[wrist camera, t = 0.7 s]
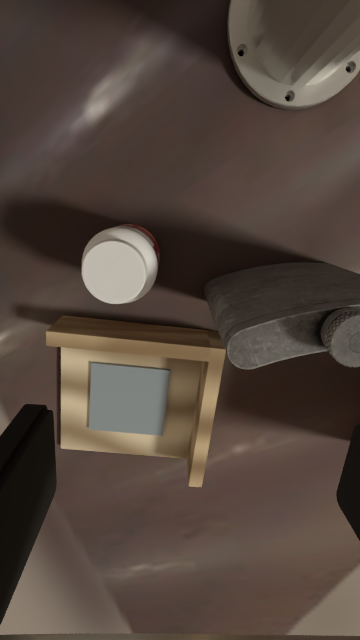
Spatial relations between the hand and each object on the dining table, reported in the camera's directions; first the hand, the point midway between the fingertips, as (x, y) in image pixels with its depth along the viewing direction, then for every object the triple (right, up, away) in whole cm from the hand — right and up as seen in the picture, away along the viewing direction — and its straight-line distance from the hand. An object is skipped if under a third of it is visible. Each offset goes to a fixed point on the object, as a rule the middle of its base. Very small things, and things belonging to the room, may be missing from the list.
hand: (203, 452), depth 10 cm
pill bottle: (-6, +11, +24) cm, 27 cm away
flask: (+9, +8, +25) cm, 28 cm away
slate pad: (-7, -5, +29) cm, 30 cm away
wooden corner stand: (-6, -4, +29) cm, 30 cm away
